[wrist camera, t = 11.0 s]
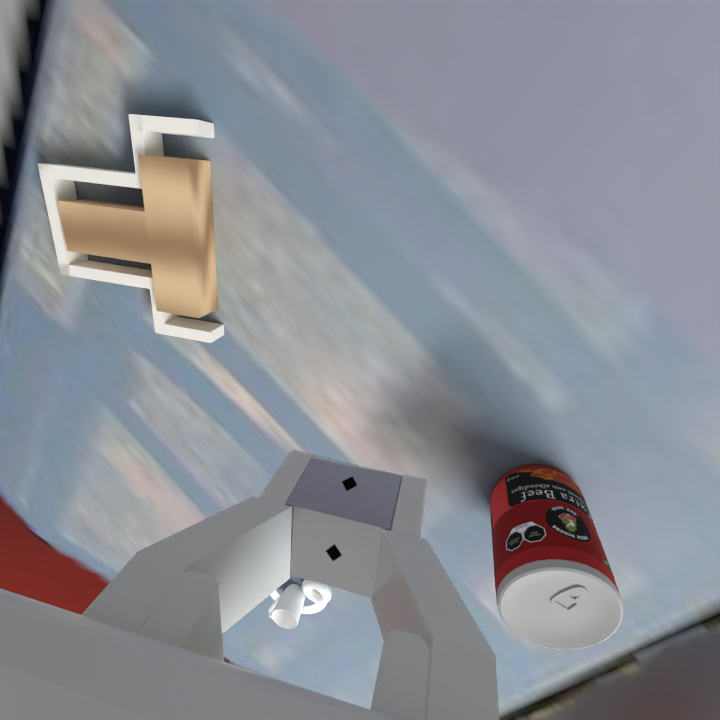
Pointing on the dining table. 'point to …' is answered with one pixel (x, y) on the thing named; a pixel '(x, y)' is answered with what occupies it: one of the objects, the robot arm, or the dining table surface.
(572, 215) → the dining table surface
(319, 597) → the white looped piece
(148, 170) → the t block
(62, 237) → the t socket
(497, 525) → the canned food
